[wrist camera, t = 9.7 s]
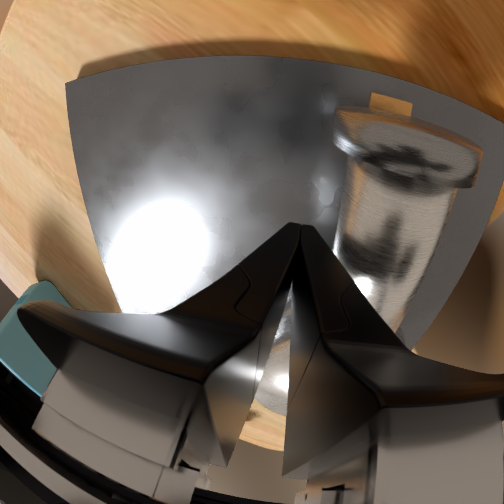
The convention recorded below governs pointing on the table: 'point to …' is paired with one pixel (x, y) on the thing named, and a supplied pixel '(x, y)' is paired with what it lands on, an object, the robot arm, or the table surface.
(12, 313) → the data package
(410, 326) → the cutting board
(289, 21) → the table surface
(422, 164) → the dryer elbow
